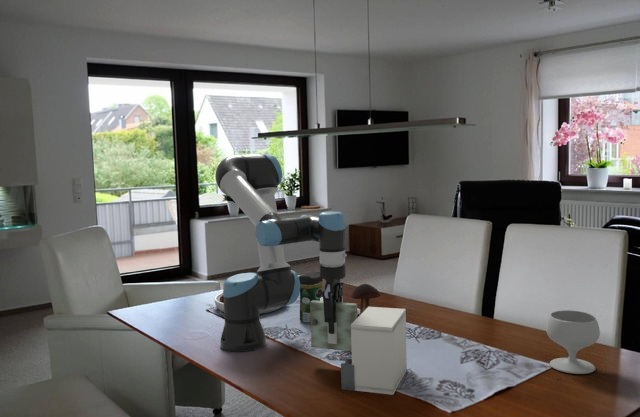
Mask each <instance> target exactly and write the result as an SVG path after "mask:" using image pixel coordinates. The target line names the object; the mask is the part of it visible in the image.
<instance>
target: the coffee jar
mask: <svg viewBox="0 0 640 417" xmlns="http://www.w3.org/2000/svg"><path fill="white" fill-rule="evenodd" d="M298 277H299V280H300V293H299V321H300V322H301V323H303V324H307V325H309V324H311V317H310V302H311V301H312V300H317V301H320V298H321V297H323V296H322V291H323V283H324V281H323V280H324V279H322V278H321V277H320V271H309V272H307V273H304V274H300V275H299V276H298Z"/></svg>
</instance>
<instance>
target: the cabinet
mask: <svg viewBox="0 0 640 417" xmlns="http://www.w3.org/2000/svg"><path fill="white" fill-rule="evenodd" d="M406 311H407V310H406V308H399V307H398V308H395V307H381V306H380V307H379V306H371V307H368V308H367V309H366V310H365V311H364V312H363V313H362V314H361V315H360V316H359V317H358V318H357V319H356V320H355V321H354V322H353V323H352V324H351V349H352V351H351V359H352V365H354V379H355V392H356V391H357V392H367V393H372V394H373V393H374V394H382V395H391V396H394V394H395V392H396V390H397V388H398V387H399V384H400V382H401V381H402V380H403V377H404V375H405V374H406V371H407V364H408V362H407V359H408V358H407V323H406V322H407V320H406V319H407V317H406V316H407V315H406Z"/></svg>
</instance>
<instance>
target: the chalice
mask: <svg viewBox="0 0 640 417" xmlns="http://www.w3.org/2000/svg"><path fill="white" fill-rule="evenodd" d="M598 322H599V321H597V319H596V317H595V315H593V314H591V313H588V312H584V311H578V310H569V309H568V310H557V311H553V312H552V313H550V315H549V316H548V319H547V321H546V326H545V329H546V334H547V336H548V337H549V339H550V340H551V341H553V342H554V343H556V344H558V345H559V346H561V347H563V348H564V349H565V350H566V351H567V354H568V357H559V358H554V359H552V360H551V361H550V362H549V366H550V367H551V368H552V369H555V370H557V371H559V372H562V373H567V374H574V375H586V374H591V373H593V372H595V371H596V368H597V367H596V366H595V365H594V364H593V363H592V362H589V361H587V360H584V359H580V358H577V353H578V352H579V351H580V350H582V349H584V348H587V347H591V346H592V345H594V344H596V343H597V342H598V340H599V338H600V336H601V332H600V331H601V330H600V326H599V323H598Z"/></svg>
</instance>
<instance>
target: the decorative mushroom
mask: <svg viewBox="0 0 640 417" xmlns="http://www.w3.org/2000/svg"><path fill="white" fill-rule="evenodd" d="M379 297H381V292H380V291H379V290H378V289H377V288H375V287H374V286H373V285H370V284H368V283H363V284H362V283H361V284H360V285H358V286H356V287H355V288H354V290H352V292H351V294H350V298H351V299H355V300H360V306H359V311H360V315H361V314H362V313H363V312H364V311H365V310H366V309H367V308H368V307H372V306H371V302H370V299H371V300H372V299H377V298H379Z"/></svg>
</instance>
